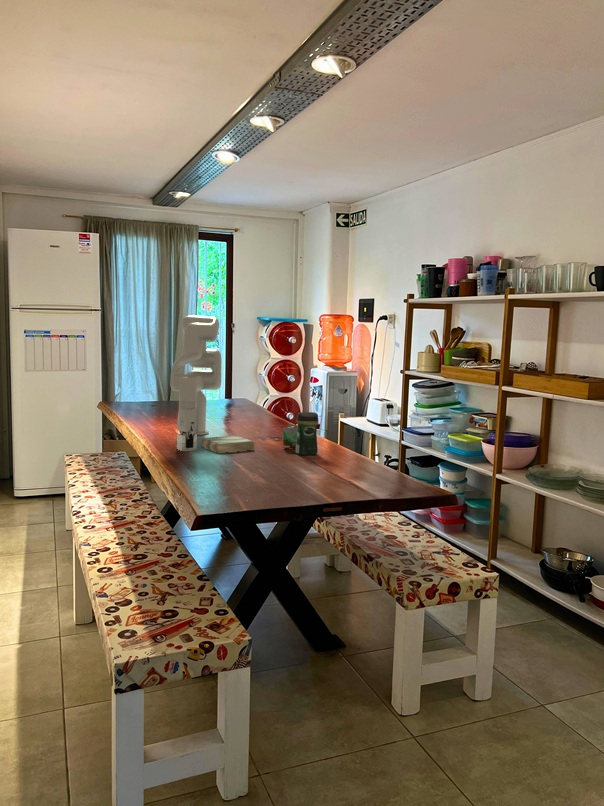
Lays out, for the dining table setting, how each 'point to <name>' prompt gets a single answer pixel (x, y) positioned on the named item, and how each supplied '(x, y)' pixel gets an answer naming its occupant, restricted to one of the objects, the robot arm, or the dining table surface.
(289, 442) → the food container
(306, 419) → the coffee jar
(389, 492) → the dining table surface
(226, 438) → the wooden stand
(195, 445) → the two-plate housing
